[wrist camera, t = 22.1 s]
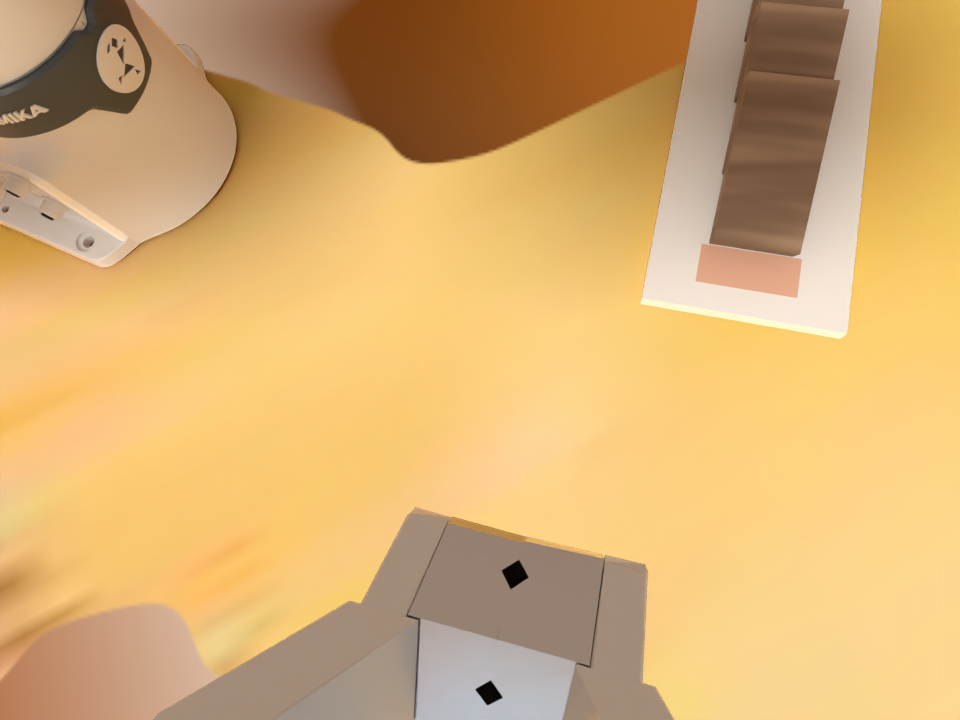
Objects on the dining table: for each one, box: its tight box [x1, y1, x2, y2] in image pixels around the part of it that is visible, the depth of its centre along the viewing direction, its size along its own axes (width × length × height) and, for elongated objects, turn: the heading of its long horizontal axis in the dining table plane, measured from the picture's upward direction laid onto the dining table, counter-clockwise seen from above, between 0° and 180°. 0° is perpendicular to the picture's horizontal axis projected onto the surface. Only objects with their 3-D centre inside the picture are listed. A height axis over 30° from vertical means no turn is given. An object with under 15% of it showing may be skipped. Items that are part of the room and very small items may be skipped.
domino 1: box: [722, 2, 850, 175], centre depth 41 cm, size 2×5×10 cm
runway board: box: [640, 0, 882, 339], centre depth 44 cm, size 12×26×1 cm, turn 167°
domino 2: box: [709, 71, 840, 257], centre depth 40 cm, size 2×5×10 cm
